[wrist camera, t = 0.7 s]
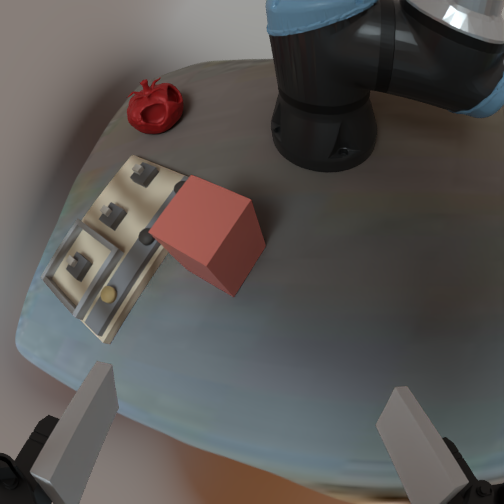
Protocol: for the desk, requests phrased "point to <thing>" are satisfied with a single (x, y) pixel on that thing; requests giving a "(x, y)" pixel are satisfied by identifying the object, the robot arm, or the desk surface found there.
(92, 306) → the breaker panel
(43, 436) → the robot arm
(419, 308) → the desk surface
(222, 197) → the tall red rectangular block
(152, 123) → the pomegranate
